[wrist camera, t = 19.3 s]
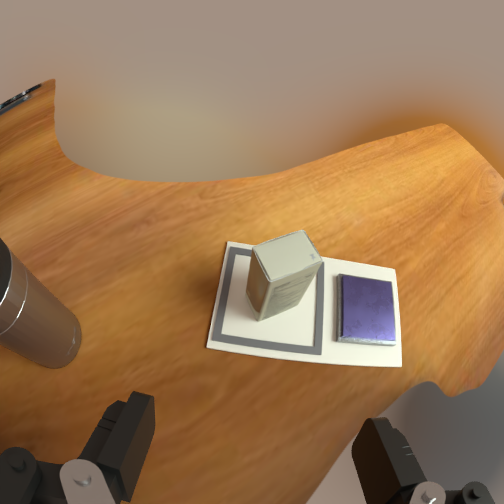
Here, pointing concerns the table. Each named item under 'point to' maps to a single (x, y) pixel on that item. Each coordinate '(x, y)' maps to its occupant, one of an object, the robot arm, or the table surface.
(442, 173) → the table surface
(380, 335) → the ink pad
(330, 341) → the marked board
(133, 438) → the robot arm
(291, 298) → the skincare box
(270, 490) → the table surface
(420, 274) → the table surface
